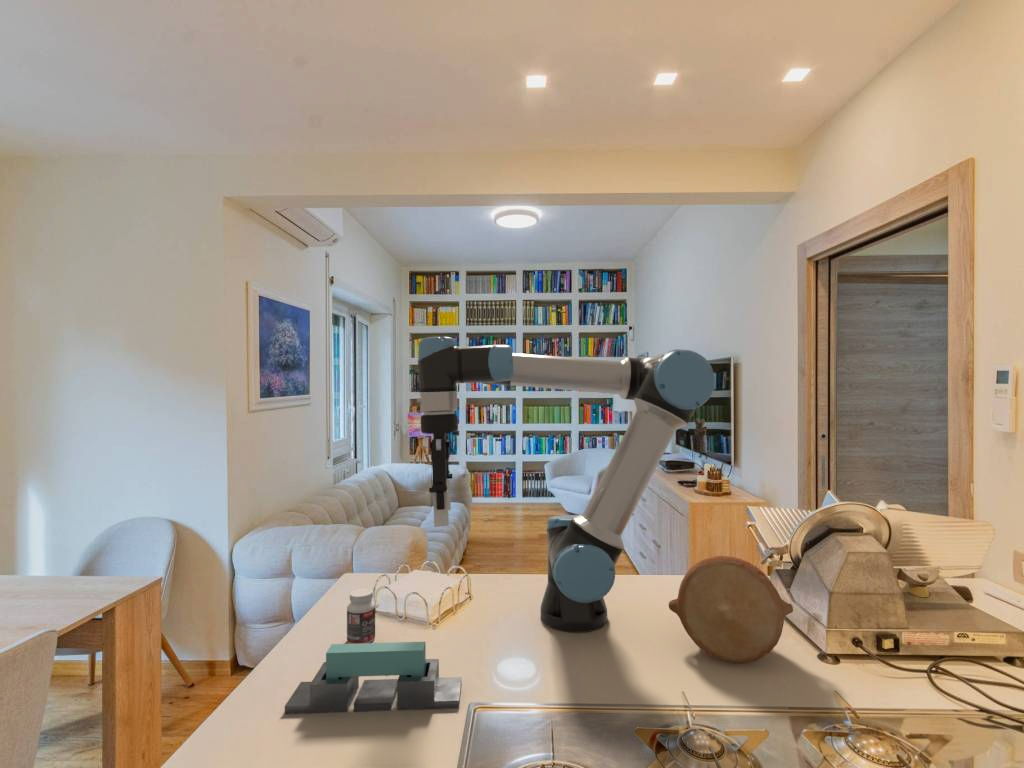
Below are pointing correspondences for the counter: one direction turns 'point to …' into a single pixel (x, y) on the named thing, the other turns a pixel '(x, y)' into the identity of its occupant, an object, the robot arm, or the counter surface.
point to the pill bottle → (361, 617)
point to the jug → (730, 609)
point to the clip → (376, 660)
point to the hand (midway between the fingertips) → (443, 517)
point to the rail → (376, 693)
